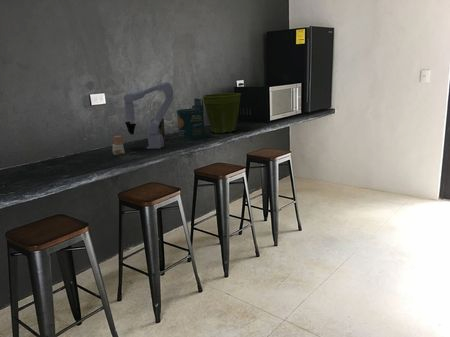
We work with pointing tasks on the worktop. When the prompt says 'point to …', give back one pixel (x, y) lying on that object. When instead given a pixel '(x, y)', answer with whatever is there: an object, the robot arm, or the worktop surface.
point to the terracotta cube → (118, 140)
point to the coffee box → (161, 128)
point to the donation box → (191, 122)
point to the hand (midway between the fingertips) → (131, 133)
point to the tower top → (117, 147)
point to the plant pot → (222, 111)
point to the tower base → (118, 152)
